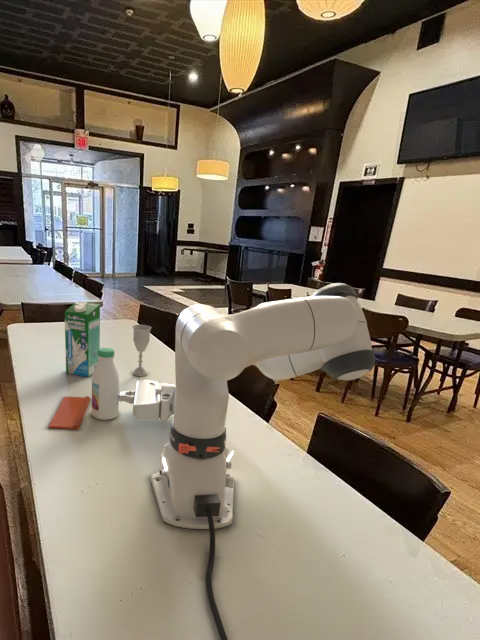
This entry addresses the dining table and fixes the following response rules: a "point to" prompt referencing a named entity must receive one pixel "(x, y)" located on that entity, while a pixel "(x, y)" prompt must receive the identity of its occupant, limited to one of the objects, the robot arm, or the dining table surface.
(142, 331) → the chalice
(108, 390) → the milk bottle
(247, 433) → the dining table surface
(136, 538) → the dining table surface
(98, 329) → the milk carton
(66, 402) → the roof tile
